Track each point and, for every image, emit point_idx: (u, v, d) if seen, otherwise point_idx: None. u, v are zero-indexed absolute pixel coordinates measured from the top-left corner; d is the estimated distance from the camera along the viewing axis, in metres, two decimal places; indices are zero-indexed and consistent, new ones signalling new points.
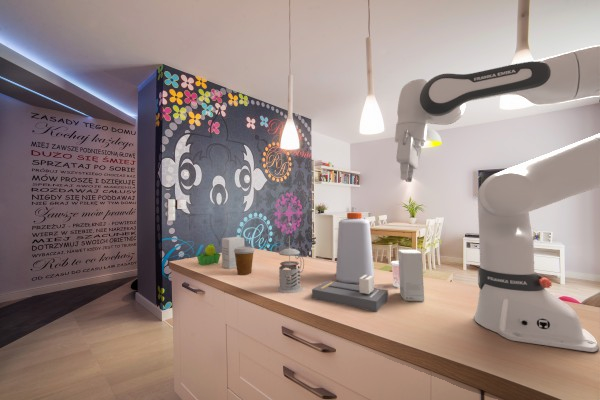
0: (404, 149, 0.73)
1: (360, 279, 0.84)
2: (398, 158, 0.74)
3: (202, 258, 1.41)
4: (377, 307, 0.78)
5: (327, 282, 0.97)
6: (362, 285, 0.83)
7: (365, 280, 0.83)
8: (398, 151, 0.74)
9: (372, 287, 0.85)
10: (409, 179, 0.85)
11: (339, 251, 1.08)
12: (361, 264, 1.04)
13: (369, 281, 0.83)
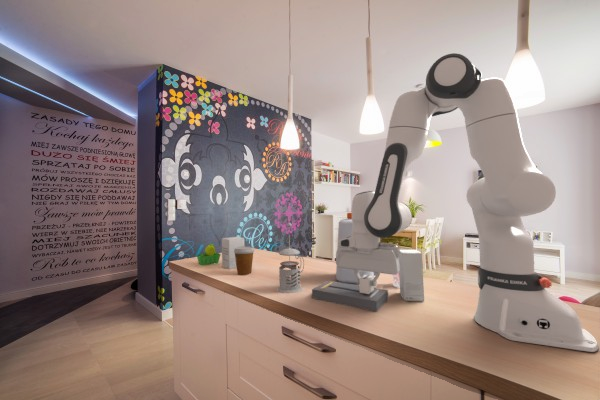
0: (398, 263, 0.80)
1: (360, 279, 0.84)
2: (397, 272, 0.79)
3: (202, 258, 1.41)
4: (377, 307, 0.78)
5: (327, 282, 0.97)
6: (362, 285, 0.83)
7: (365, 280, 0.83)
8: (397, 265, 0.79)
9: (372, 287, 0.85)
10: None
11: None
12: None
13: (369, 281, 0.83)
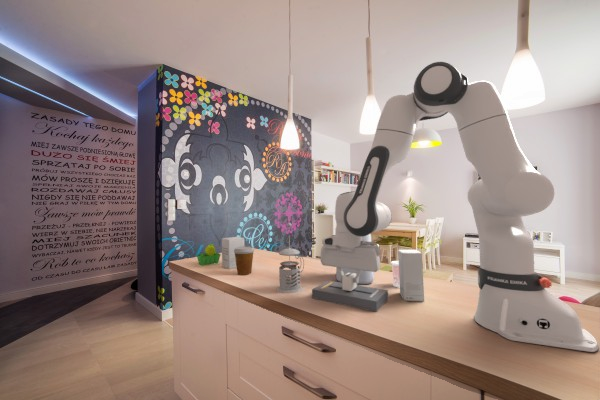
0: (378, 260, 0.83)
1: (343, 276, 0.87)
2: (377, 269, 0.82)
3: (202, 258, 1.41)
4: (377, 307, 0.78)
5: (327, 282, 0.97)
6: (345, 282, 0.87)
7: (347, 277, 0.86)
8: (377, 263, 0.82)
9: (355, 284, 0.89)
10: None
11: None
12: None
13: (351, 278, 0.86)
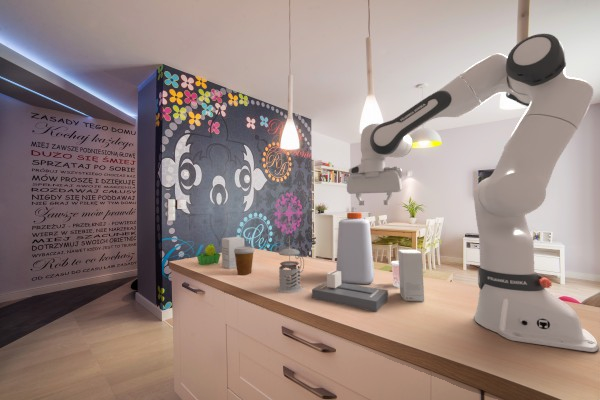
0: (400, 182, 0.94)
1: (327, 274, 0.90)
2: (400, 189, 0.93)
3: (202, 258, 1.41)
4: (377, 307, 0.78)
5: None
6: (329, 279, 0.90)
7: (332, 275, 0.89)
8: (399, 183, 0.93)
9: (339, 282, 0.92)
10: (363, 203, 1.02)
11: (339, 251, 1.08)
12: (361, 264, 1.04)
13: (336, 276, 0.90)
